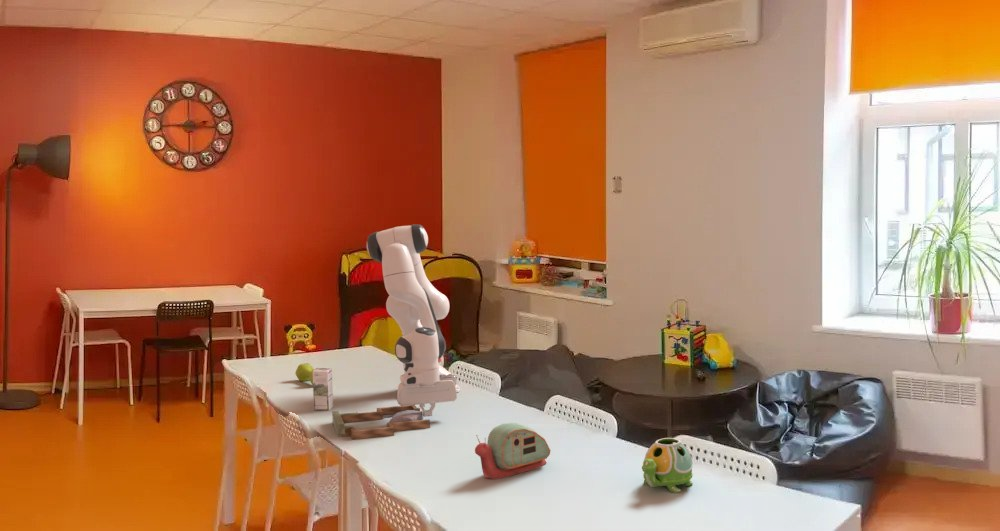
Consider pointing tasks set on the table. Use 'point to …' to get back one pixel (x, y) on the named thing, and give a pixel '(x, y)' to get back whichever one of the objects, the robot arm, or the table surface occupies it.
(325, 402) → the syrup box
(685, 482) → the turtle holder
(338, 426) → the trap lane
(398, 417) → the stone block
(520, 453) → the toy snail
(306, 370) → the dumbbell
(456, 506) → the table surface
